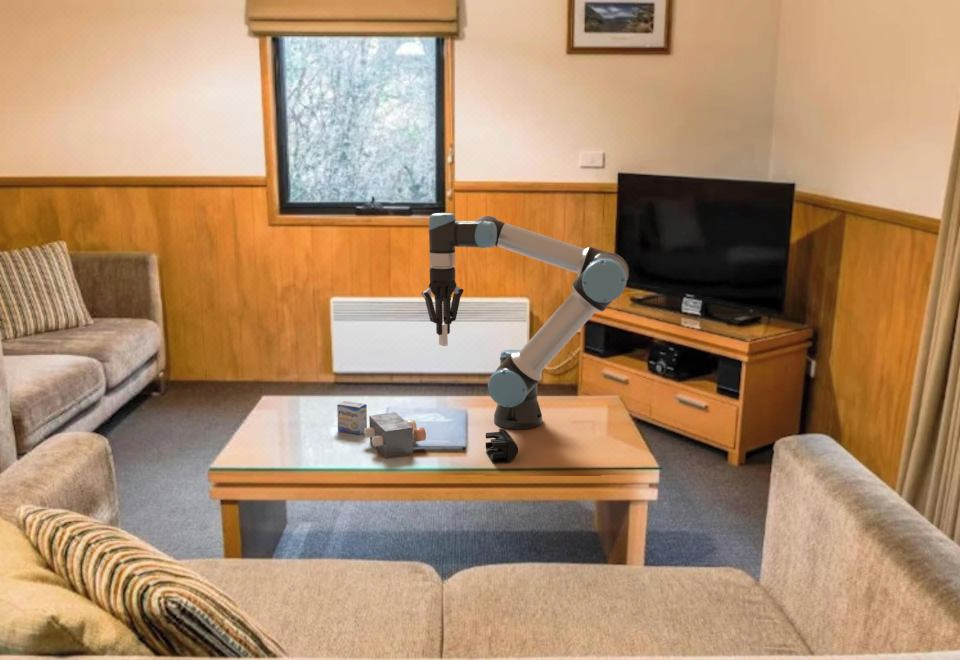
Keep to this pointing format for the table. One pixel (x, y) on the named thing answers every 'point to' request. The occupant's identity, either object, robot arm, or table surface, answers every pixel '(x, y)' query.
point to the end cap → (501, 447)
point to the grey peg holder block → (392, 434)
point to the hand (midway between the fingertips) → (443, 344)
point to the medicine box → (352, 417)
